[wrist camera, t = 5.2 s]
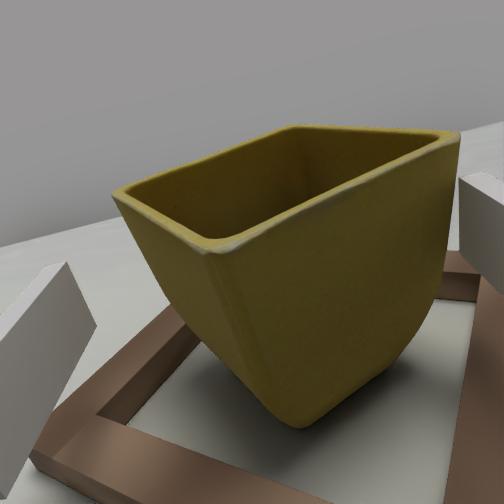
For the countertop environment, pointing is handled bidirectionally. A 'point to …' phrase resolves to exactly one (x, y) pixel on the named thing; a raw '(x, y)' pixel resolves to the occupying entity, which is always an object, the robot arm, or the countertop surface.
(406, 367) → the countertop surface
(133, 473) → the board
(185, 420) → the countertop surface
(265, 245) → the flower pot
